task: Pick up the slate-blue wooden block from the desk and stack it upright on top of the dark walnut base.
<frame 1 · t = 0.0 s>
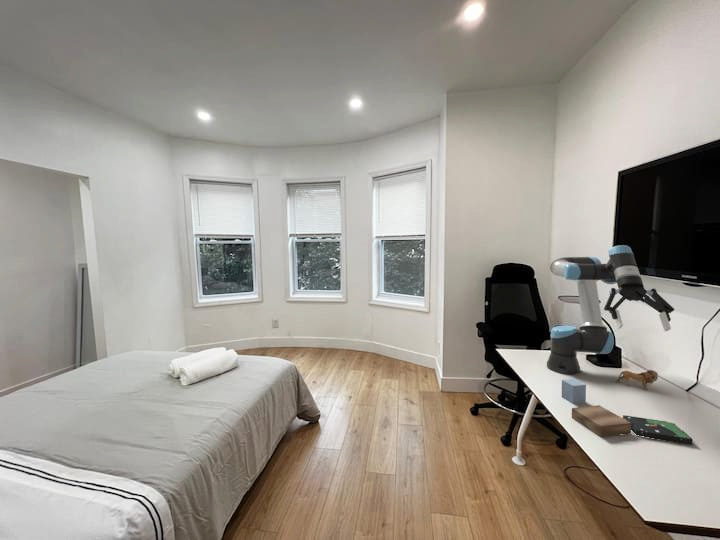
hand: (643, 328, 107), 36 cm above the table, tool tilted 35°, fingers open, 13 cm apart
walnut base: (599, 425, 107), on the table
disk drive: (655, 433, 103), on the table
lion figurine: (636, 386, 137), on the table
slate block: (573, 399, 126), on the table
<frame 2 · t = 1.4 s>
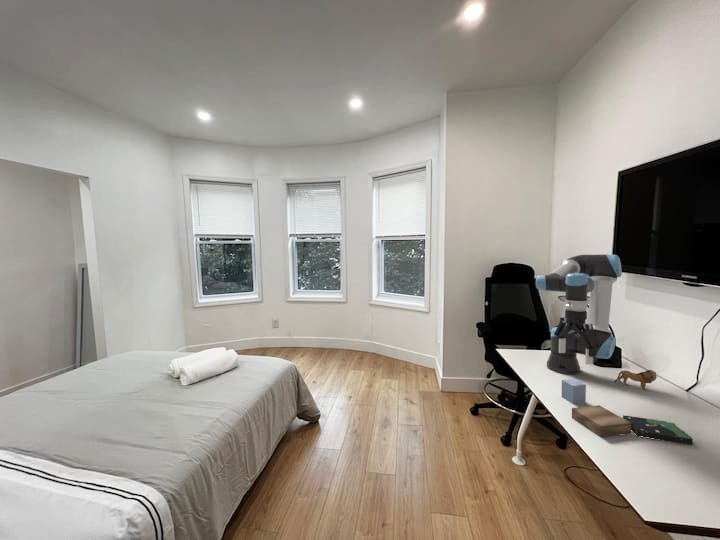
hand: (574, 358, 125), 19 cm above the table, tool pointing down, fingers open, 13 cm apart
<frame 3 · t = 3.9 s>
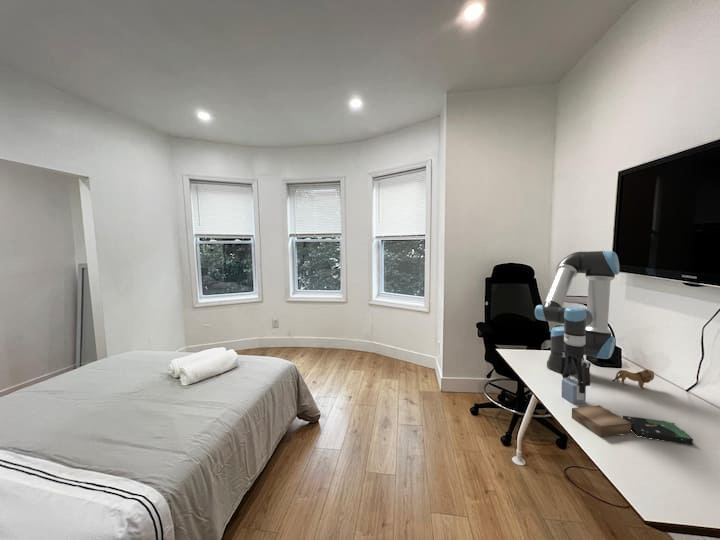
hand: (573, 395, 126), 2 cm above the table, tool pointing down, fingers closed on slate block, 6 cm apart
slate block: (573, 399, 126), on the table, touching gripper
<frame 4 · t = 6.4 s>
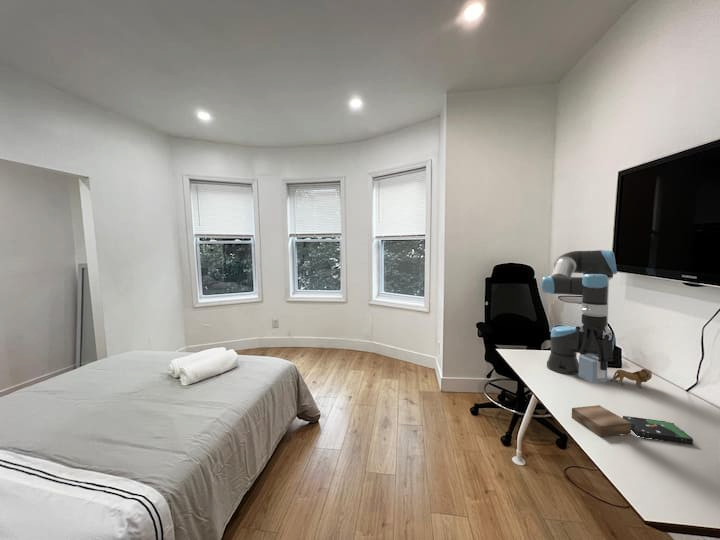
hand: (592, 373, 111), 18 cm above the table, tool pointing down, fingers closed on slate block, 6 cm apart
slate block: (592, 378, 111), point 16 cm above the table, touching gripper
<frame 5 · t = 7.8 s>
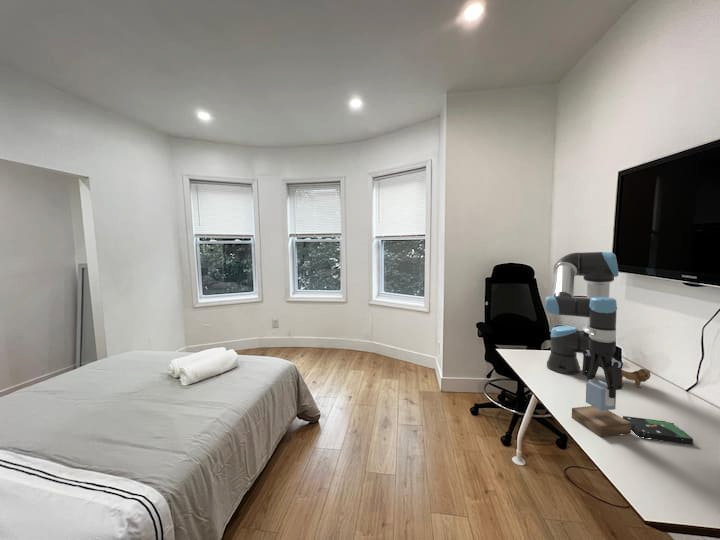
hand: (600, 400, 107), 10 cm above the table, tool pointing down, fingers closed on slate block, 6 cm apart
slate block: (600, 405, 107), point 8 cm above the table, touching gripper
when the fingers open (7 cm above the table, at t = 8.9 s): slate block drops 1 cm, resting on walnut base.
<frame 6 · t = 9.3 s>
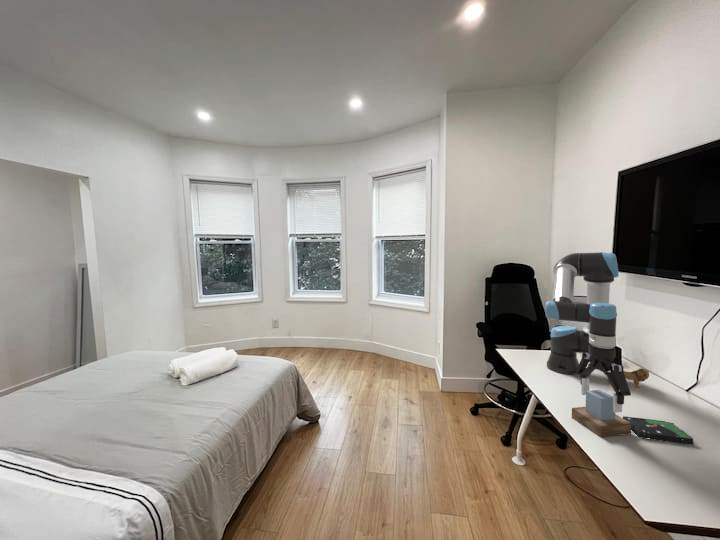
hand: (600, 402, 107), 9 cm above the table, tool pointing down, fingers open, 12 cm apart
slate block: (599, 415, 107), point 4 cm above the table, touching walnut base
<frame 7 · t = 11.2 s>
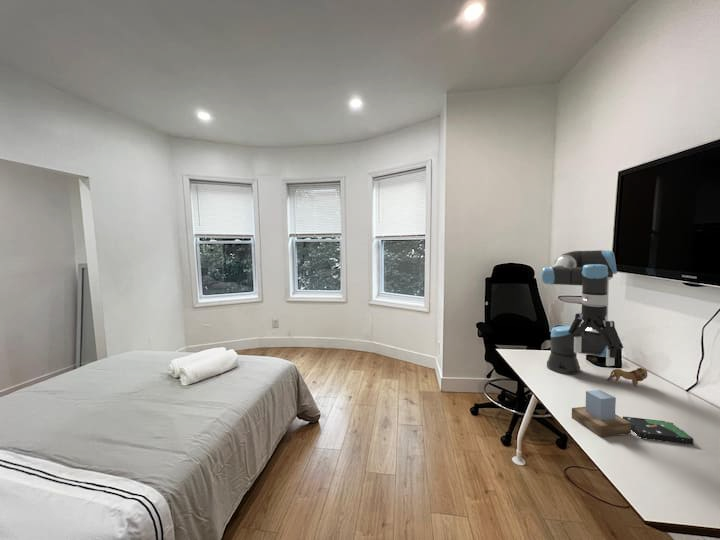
hand: (592, 358, 112), 23 cm above the table, tool pointing down, fingers open, 13 cm apart
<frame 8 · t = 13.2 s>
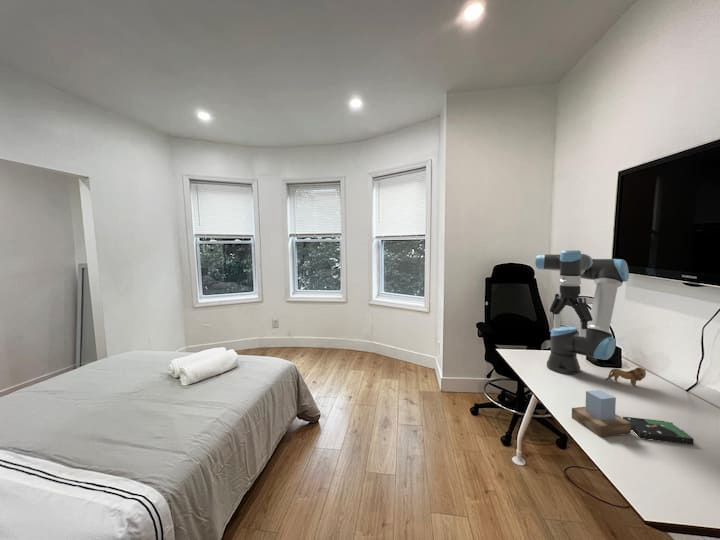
hand: (569, 331, 129), 29 cm above the table, tool pointing down, fingers open, 13 cm apart
at the end: slate block inside the target area on the walnut base (0.0 cm from its centre), point 4.0 cm above the walnut base's base; slate block tilted 0°; slate block touching walnut base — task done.
